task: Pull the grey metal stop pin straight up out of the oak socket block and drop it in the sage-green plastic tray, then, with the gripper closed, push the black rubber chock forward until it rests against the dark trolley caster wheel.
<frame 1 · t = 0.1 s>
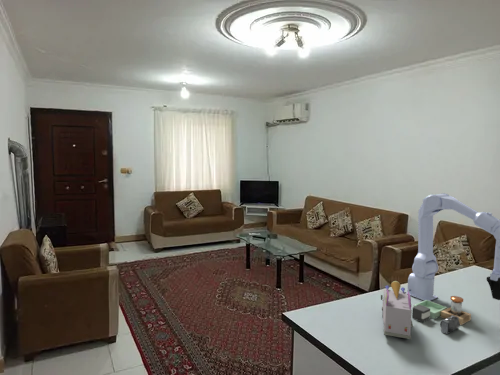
stop pin: (456, 308, 123), in the socket block
chock: (420, 318, 123), on the table
trolley wheel: (449, 330, 115), on the table
socket block: (455, 318, 123), on the table
toy vehicle: (394, 328, 116), on the table
tray: (430, 311, 129), on the table
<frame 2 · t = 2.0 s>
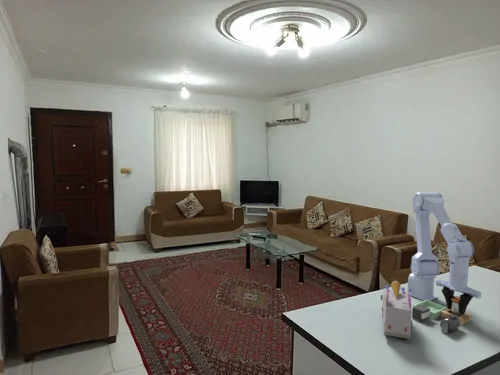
hand: (456, 310, 123), 3 cm above the table, fingers closed on stop pin, 4 cm apart
stop pin: (456, 308, 123), in the socket block, touching gripper
everything else where it was.
when the fingers open (6 cm above the table, at t = 4.5 s): stop pin drops 2 cm, resting on tray.
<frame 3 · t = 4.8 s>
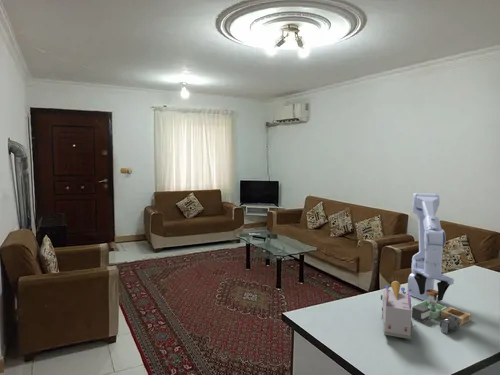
hand: (430, 297, 128), 6 cm above the table, fingers open, 6 cm apart
stop pin: (432, 301, 128), in the tray
everything else where it was.
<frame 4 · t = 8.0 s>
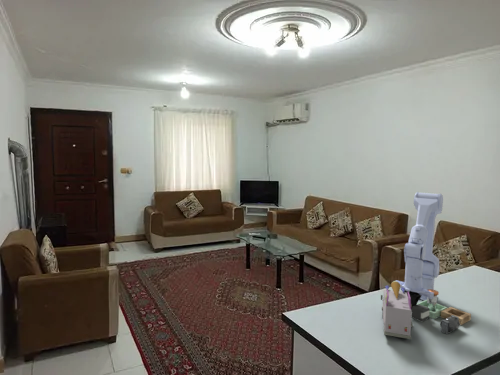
hand: (411, 310, 126), 1 cm above the table, fingers closed
chock: (420, 318, 124), on the table, touching gripper
everything else where it was.
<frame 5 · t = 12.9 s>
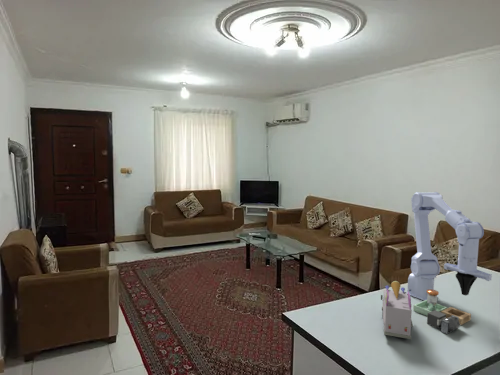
hand: (465, 294, 119), 10 cm above the table, fingers closed
chock: (436, 324, 119), on the table
everything else where it was.
at the end: stop pin inside the target area on the tray (0.5 cm from its centre), point 4.3 cm above the tray's base; the gripper is holding nothing; chock 0.1 cm from the target spot, on the table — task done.
